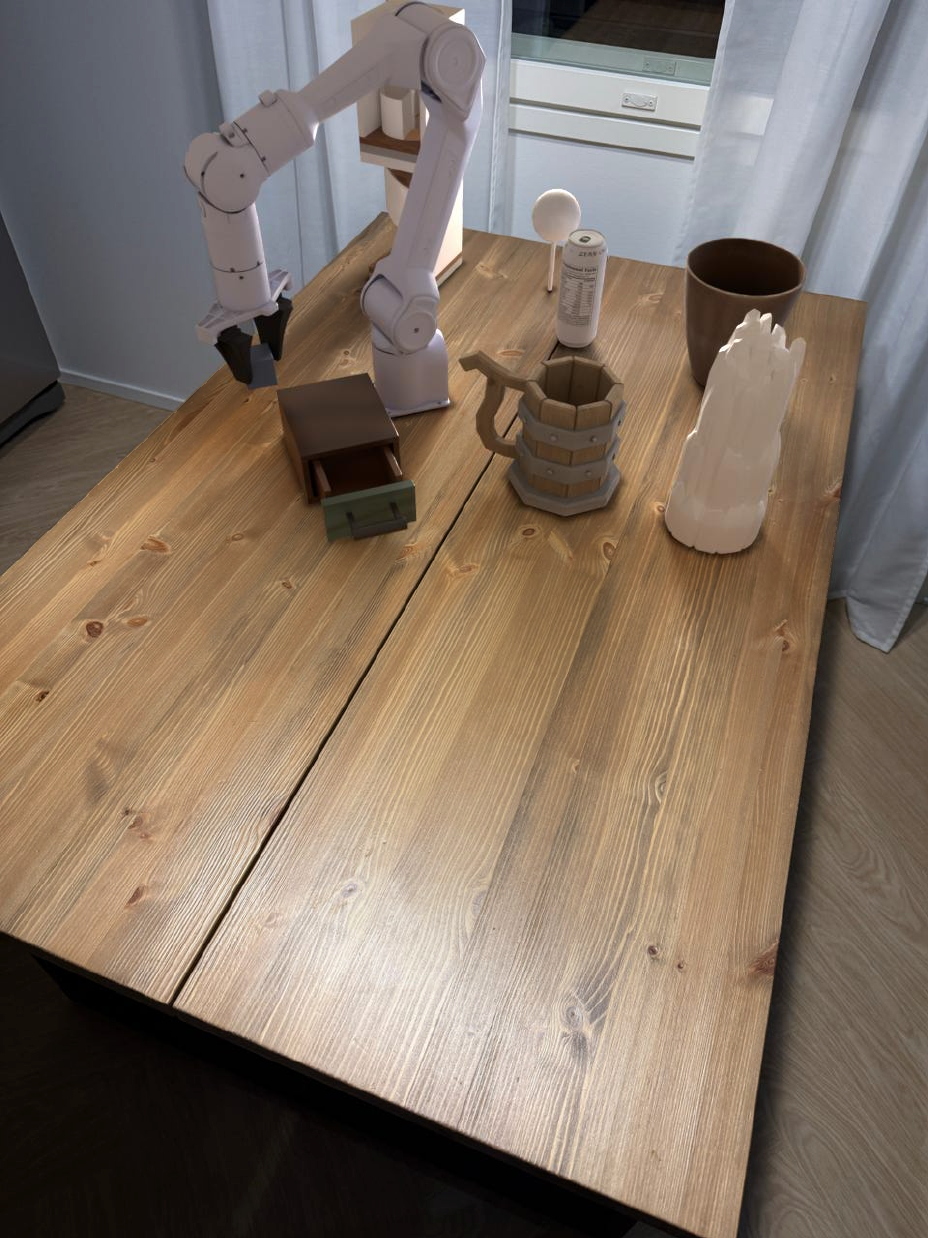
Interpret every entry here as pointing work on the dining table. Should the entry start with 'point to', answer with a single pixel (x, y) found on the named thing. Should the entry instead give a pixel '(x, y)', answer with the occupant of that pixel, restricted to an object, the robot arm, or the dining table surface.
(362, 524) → the drawer
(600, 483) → the tankard
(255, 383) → the block
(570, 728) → the dining table surface
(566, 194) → the lollipop
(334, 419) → the cabinet
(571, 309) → the energy drink can
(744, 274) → the flower pot
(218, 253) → the robot arm
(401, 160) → the display case
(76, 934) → the dining table surface
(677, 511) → the cream upright sculpted piece
